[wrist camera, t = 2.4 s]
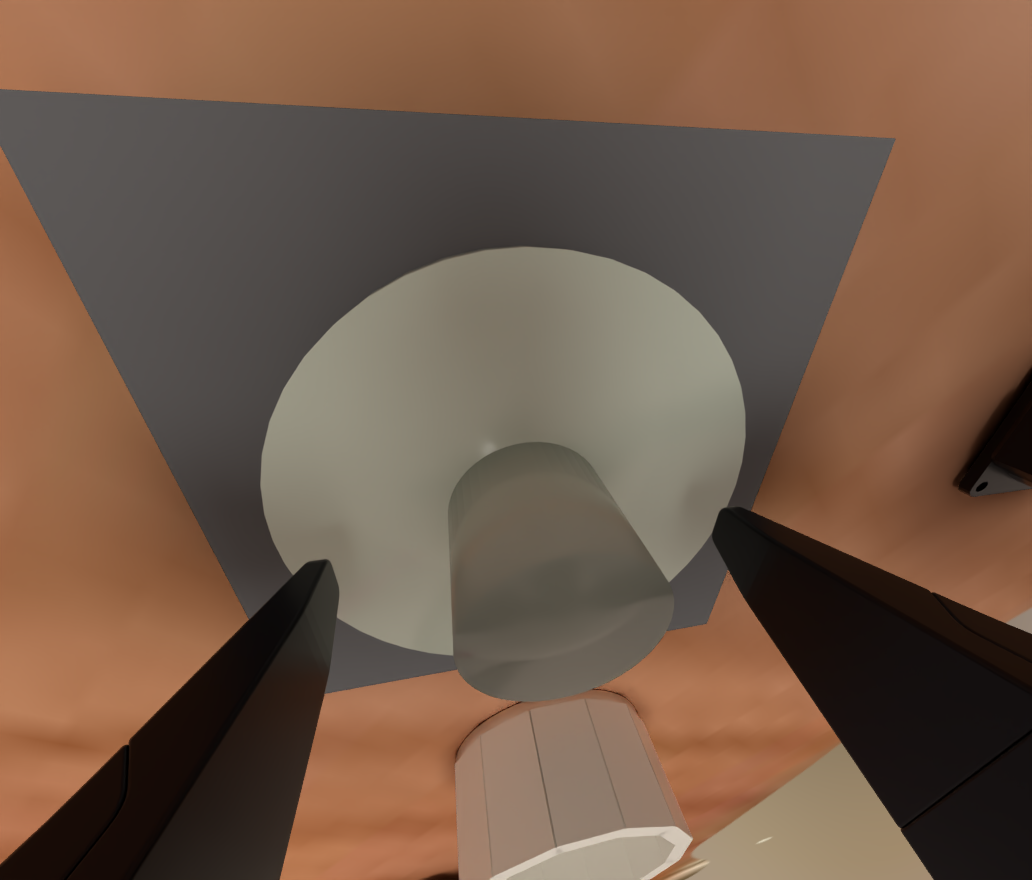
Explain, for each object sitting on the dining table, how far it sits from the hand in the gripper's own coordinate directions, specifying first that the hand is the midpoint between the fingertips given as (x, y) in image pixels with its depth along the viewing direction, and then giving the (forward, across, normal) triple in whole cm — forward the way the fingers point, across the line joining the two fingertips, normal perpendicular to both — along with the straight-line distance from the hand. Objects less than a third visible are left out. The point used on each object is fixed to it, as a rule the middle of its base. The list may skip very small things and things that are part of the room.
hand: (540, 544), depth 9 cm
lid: (+2, 0, 0) cm, 2 cm away
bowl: (+3, -2, +18) cm, 18 cm away
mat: (+3, 0, 0) cm, 3 cm away
